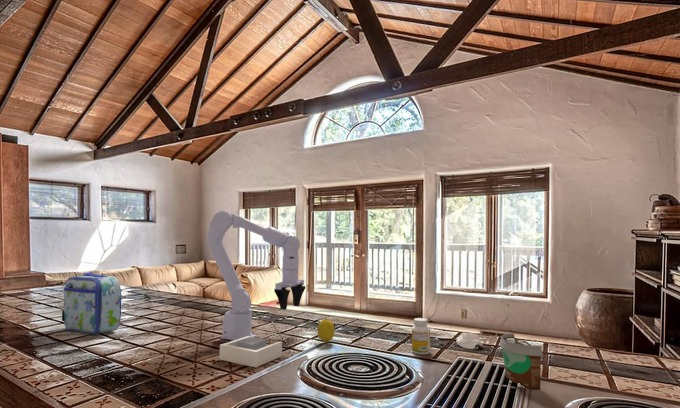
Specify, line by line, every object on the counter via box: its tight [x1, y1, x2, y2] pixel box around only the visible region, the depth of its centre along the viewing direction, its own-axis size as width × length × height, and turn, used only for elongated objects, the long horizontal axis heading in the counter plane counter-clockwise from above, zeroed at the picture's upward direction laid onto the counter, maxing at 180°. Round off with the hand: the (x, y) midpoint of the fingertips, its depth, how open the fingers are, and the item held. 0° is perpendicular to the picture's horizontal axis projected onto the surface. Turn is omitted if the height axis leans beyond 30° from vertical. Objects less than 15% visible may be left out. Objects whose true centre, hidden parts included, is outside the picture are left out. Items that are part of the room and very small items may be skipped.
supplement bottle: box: [411, 317, 431, 356], centre depth 114 cm, size 5×5×10 cm
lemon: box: [317, 317, 336, 344], centre depth 124 cm, size 6×6×8 cm
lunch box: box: [61, 272, 122, 335], centre depth 141 cm, size 26×11×21 cm, turn 58°
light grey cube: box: [236, 337, 268, 350], centre depth 109 cm, size 6×6×5 cm
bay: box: [219, 336, 283, 368], centre depth 109 cm, size 14×11×4 cm
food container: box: [499, 332, 543, 391], centre depth 91 cm, size 12×6×10 cm, turn 5°
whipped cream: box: [456, 332, 484, 350], centre depth 120 cm, size 8×7×5 cm
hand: (290, 307), depth 135 cm, fingers open, 7 cm apart
